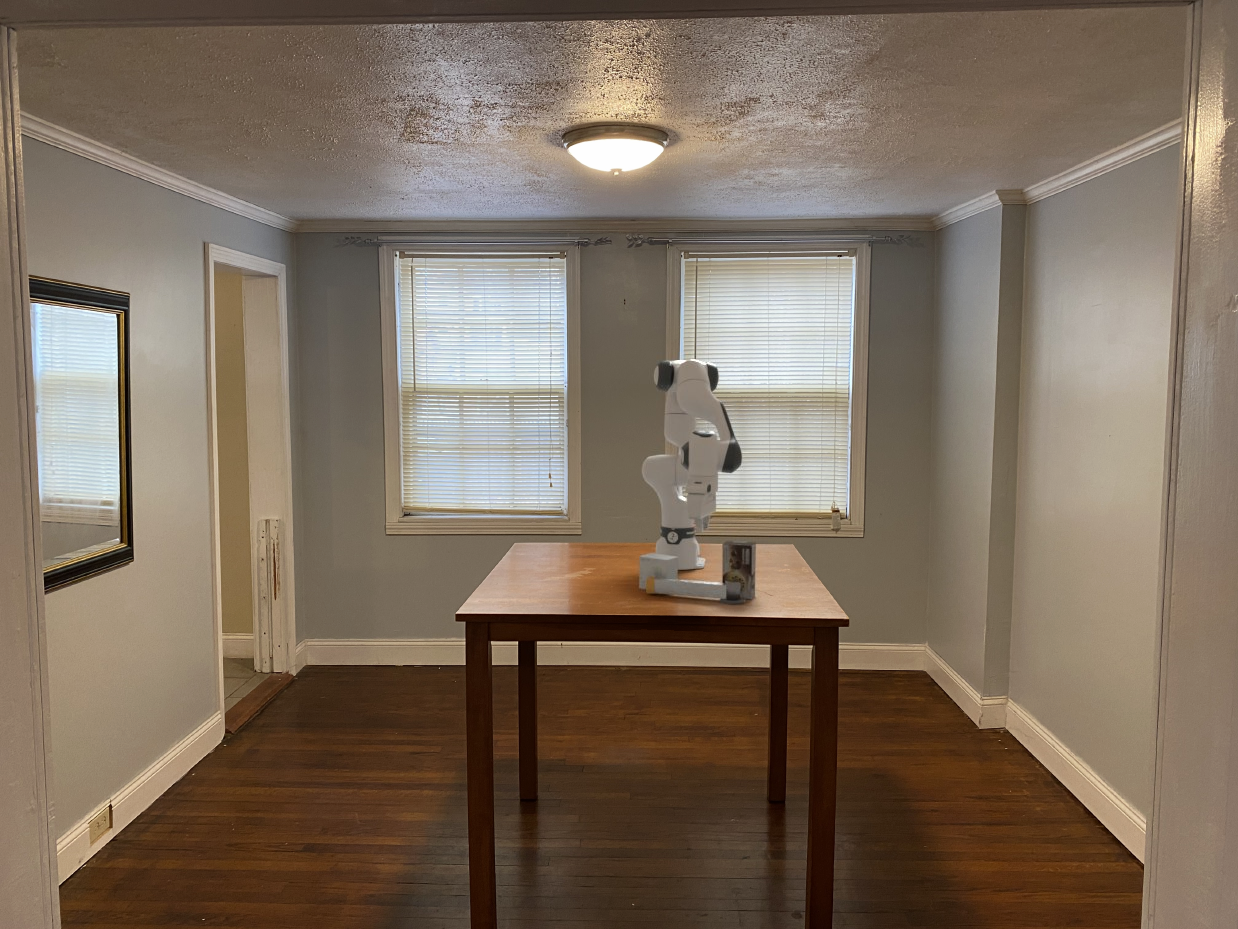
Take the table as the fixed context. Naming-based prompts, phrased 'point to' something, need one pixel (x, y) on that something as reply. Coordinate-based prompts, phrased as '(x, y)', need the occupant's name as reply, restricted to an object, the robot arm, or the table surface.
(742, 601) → the hinge base
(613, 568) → the table surface
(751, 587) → the coffee box
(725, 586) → the grey long bar
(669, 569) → the skincare box
